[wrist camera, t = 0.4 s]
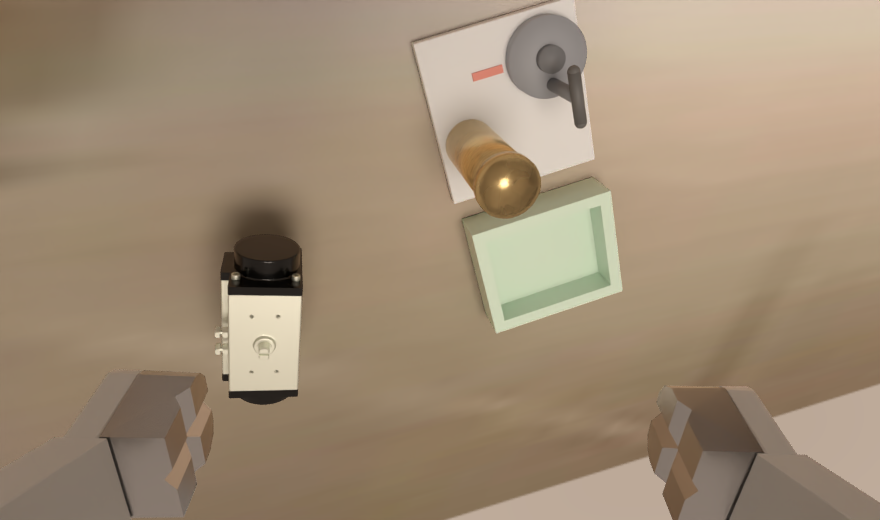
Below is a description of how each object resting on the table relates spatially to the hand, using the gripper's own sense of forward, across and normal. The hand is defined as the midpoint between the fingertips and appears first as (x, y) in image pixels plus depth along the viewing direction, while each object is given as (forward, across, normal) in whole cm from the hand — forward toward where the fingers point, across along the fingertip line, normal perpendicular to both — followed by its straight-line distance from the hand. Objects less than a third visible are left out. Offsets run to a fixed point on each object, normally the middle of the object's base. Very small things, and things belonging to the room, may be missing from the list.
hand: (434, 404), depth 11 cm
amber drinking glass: (+39, -4, +9) cm, 40 cm away
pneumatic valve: (+36, +13, +19) cm, 43 cm away
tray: (+40, -10, +19) cm, 46 cm away
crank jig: (+40, -6, +6) cm, 41 cm away
